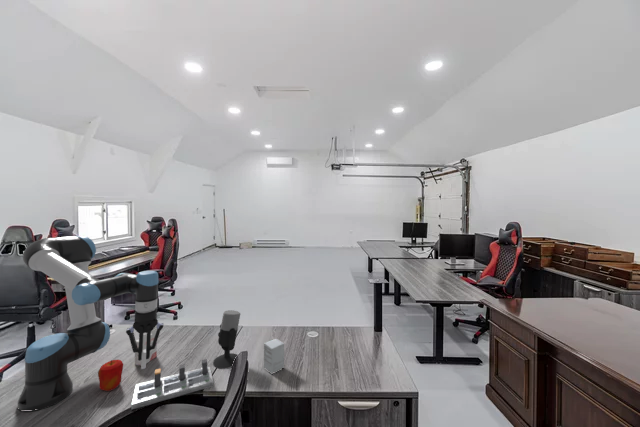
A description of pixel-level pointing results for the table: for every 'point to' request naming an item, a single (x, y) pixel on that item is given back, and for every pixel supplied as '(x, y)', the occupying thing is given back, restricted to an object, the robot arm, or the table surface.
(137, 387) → the breaker panel
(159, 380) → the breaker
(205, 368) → the breaker right
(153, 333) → the ink cartridge box
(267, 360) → the supplement box
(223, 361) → the microphone
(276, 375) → the table surface
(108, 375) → the apple
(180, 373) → the breaker mid
